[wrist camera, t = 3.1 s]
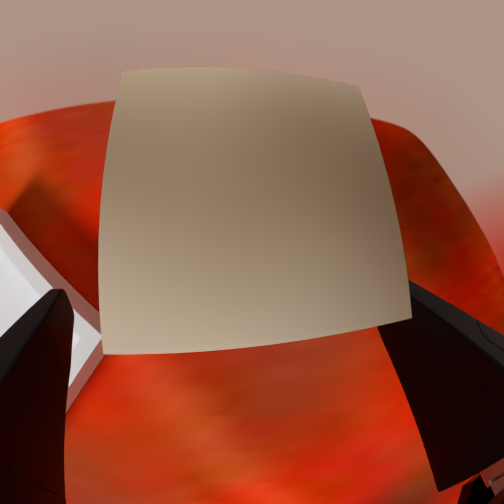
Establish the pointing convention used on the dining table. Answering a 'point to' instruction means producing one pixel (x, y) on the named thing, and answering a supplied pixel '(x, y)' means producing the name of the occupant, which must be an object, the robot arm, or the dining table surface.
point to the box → (33, 288)
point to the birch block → (243, 213)
